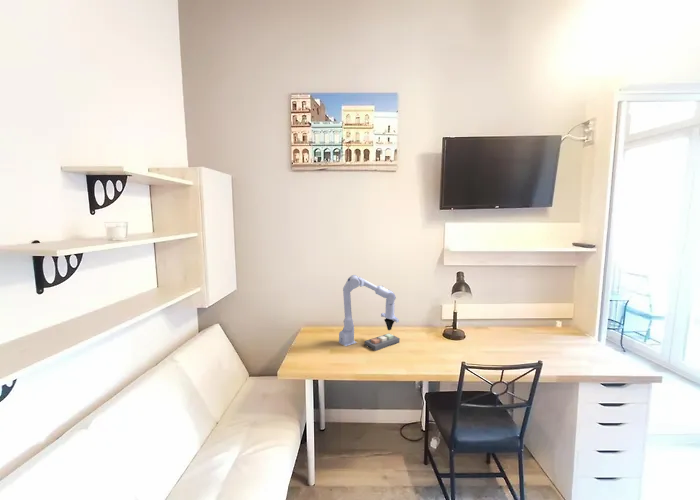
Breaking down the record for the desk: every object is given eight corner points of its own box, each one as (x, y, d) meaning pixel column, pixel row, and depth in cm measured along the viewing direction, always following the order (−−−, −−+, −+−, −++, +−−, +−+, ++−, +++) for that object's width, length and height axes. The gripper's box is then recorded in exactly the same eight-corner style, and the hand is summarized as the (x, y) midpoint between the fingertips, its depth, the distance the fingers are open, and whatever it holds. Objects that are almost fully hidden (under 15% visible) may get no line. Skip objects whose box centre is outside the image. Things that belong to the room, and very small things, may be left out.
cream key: (382, 341, 210) (382, 339, 210) (378, 339, 213) (378, 337, 213) (386, 340, 212) (386, 337, 212) (382, 338, 215) (382, 335, 215)
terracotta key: (375, 344, 206) (375, 341, 206) (371, 341, 209) (371, 339, 209) (379, 342, 209) (380, 339, 208) (375, 340, 212) (375, 337, 212)
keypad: (375, 351, 203) (375, 346, 202) (364, 345, 211) (364, 340, 210) (399, 342, 215) (399, 338, 215) (388, 337, 223) (388, 333, 223)
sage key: (389, 339, 214) (389, 336, 213) (384, 337, 217) (384, 334, 216) (393, 338, 216) (393, 335, 216) (389, 336, 219) (389, 333, 219)
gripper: (402, 311, 210) (401, 331, 212) (386, 305, 222) (386, 325, 224) (394, 313, 206) (394, 334, 208) (378, 307, 217) (378, 327, 219)
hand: (389, 329), depth 216 cm, fingers closed
